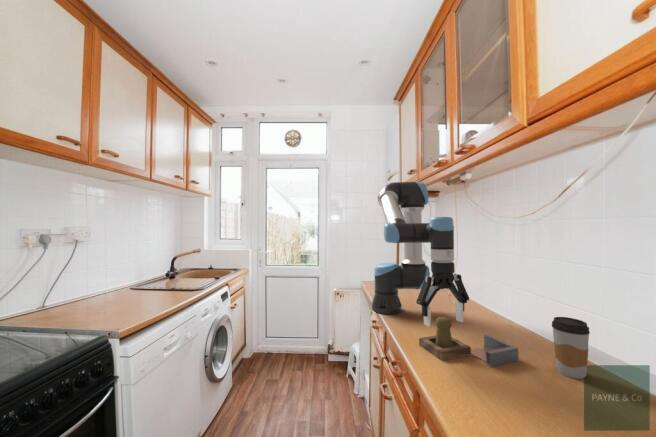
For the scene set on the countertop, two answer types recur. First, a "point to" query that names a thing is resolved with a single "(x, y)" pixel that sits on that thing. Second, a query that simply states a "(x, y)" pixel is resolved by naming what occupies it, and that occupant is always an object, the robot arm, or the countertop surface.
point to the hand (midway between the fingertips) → (443, 323)
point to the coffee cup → (571, 346)
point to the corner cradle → (496, 352)
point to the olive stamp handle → (443, 332)
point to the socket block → (445, 353)
